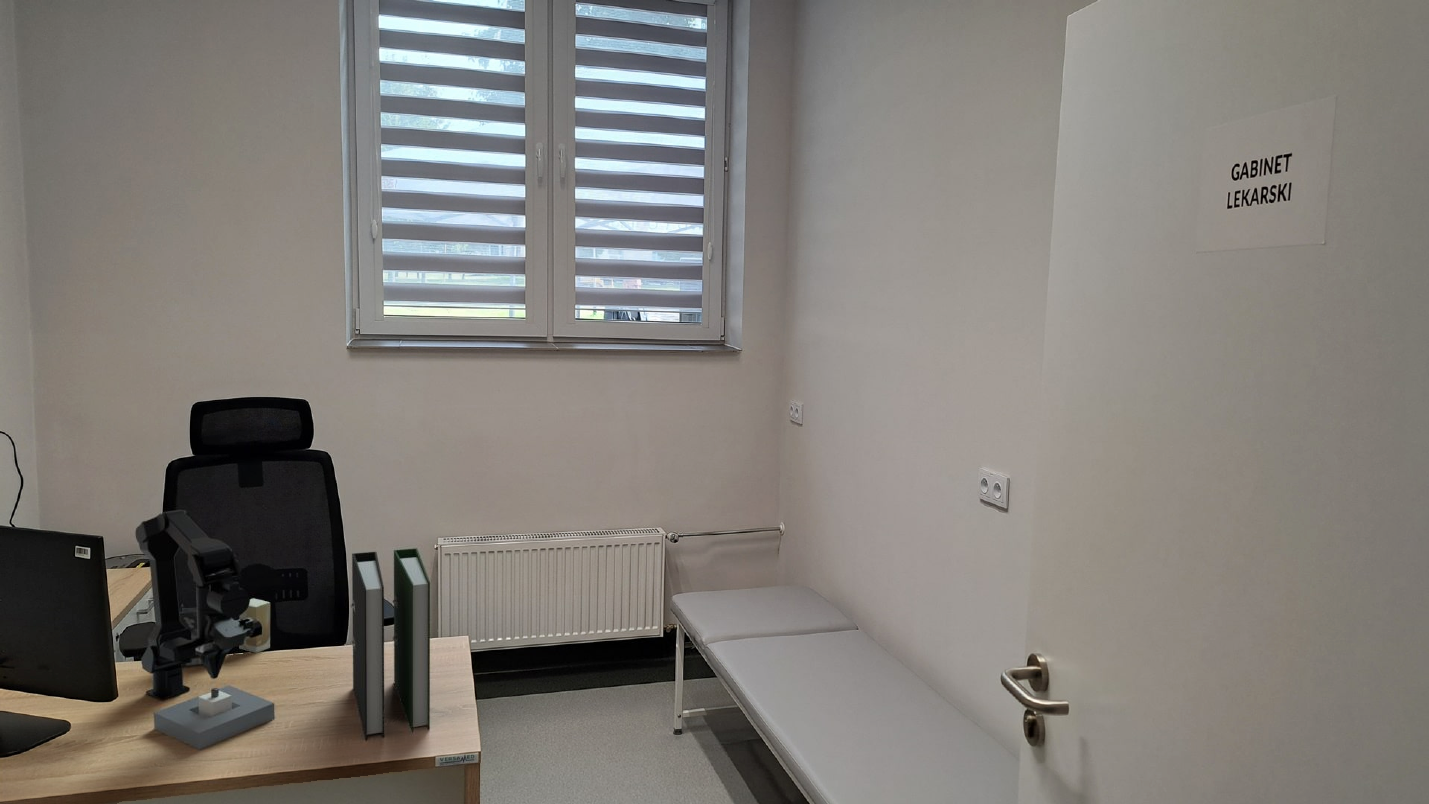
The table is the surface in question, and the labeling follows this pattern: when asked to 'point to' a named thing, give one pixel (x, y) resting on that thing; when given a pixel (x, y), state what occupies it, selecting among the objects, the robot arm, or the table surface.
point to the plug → (214, 703)
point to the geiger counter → (191, 623)
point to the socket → (213, 719)
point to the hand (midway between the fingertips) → (214, 678)
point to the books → (406, 637)
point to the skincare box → (262, 613)
